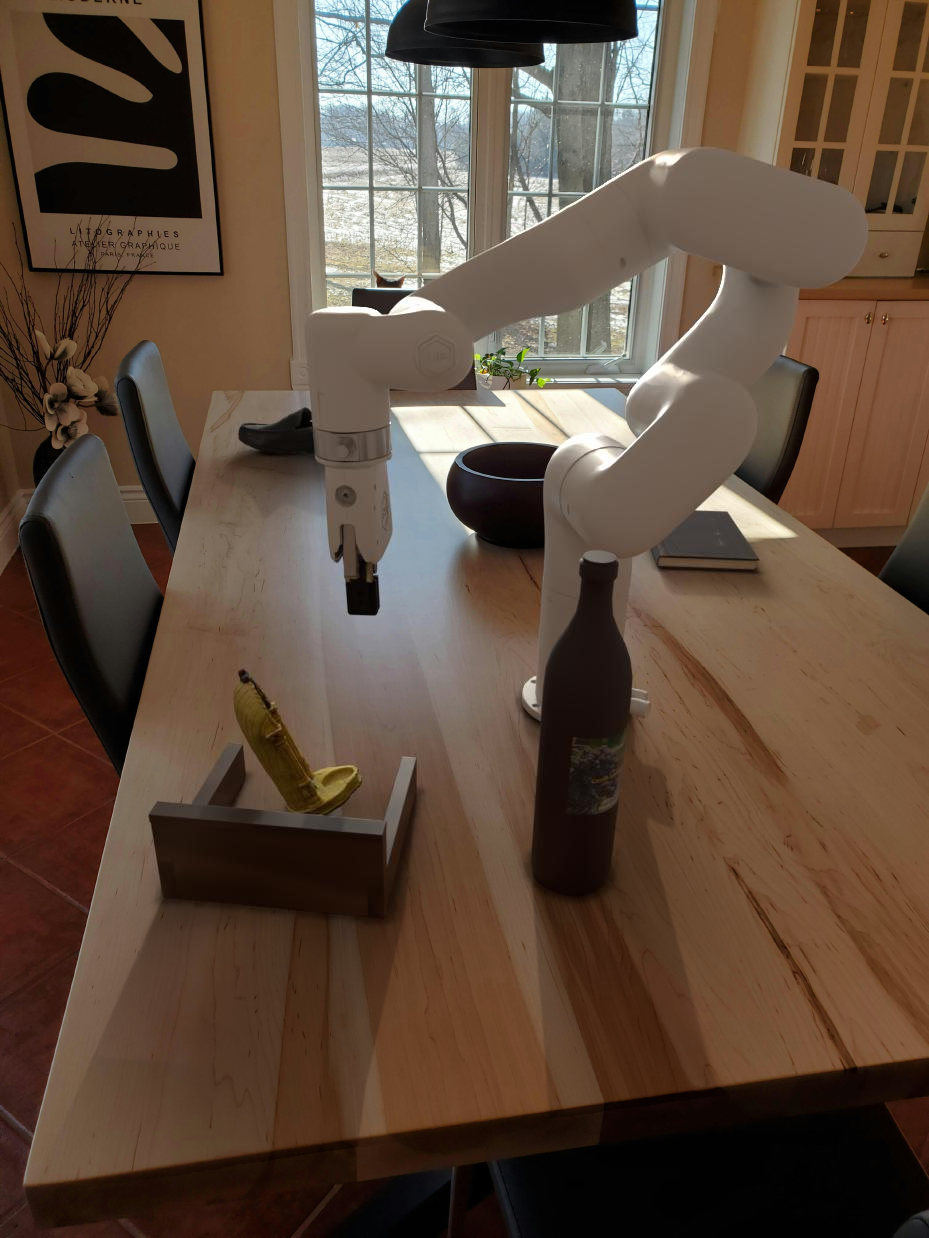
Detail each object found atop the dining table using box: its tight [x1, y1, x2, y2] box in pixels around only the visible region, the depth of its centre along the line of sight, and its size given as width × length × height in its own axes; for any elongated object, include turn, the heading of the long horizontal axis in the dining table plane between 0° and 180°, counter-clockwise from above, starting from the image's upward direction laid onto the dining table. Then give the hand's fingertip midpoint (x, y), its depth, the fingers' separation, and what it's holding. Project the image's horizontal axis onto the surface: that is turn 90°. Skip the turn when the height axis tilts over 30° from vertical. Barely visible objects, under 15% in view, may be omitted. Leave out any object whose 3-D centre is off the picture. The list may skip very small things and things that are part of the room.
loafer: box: [237, 406, 315, 456], centre depth 197 cm, size 10×29×10 cm, turn 82°
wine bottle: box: [530, 550, 634, 896], centre depth 73 cm, size 7×7×30 cm
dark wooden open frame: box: [147, 742, 418, 919], centre depth 81 cm, size 18×19×9 cm
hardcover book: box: [650, 509, 761, 573], centre depth 153 cm, size 16×23×2 cm
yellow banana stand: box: [233, 668, 363, 816], centre depth 84 cm, size 12×8×15 cm
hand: (364, 611), depth 95 cm, fingers closed
